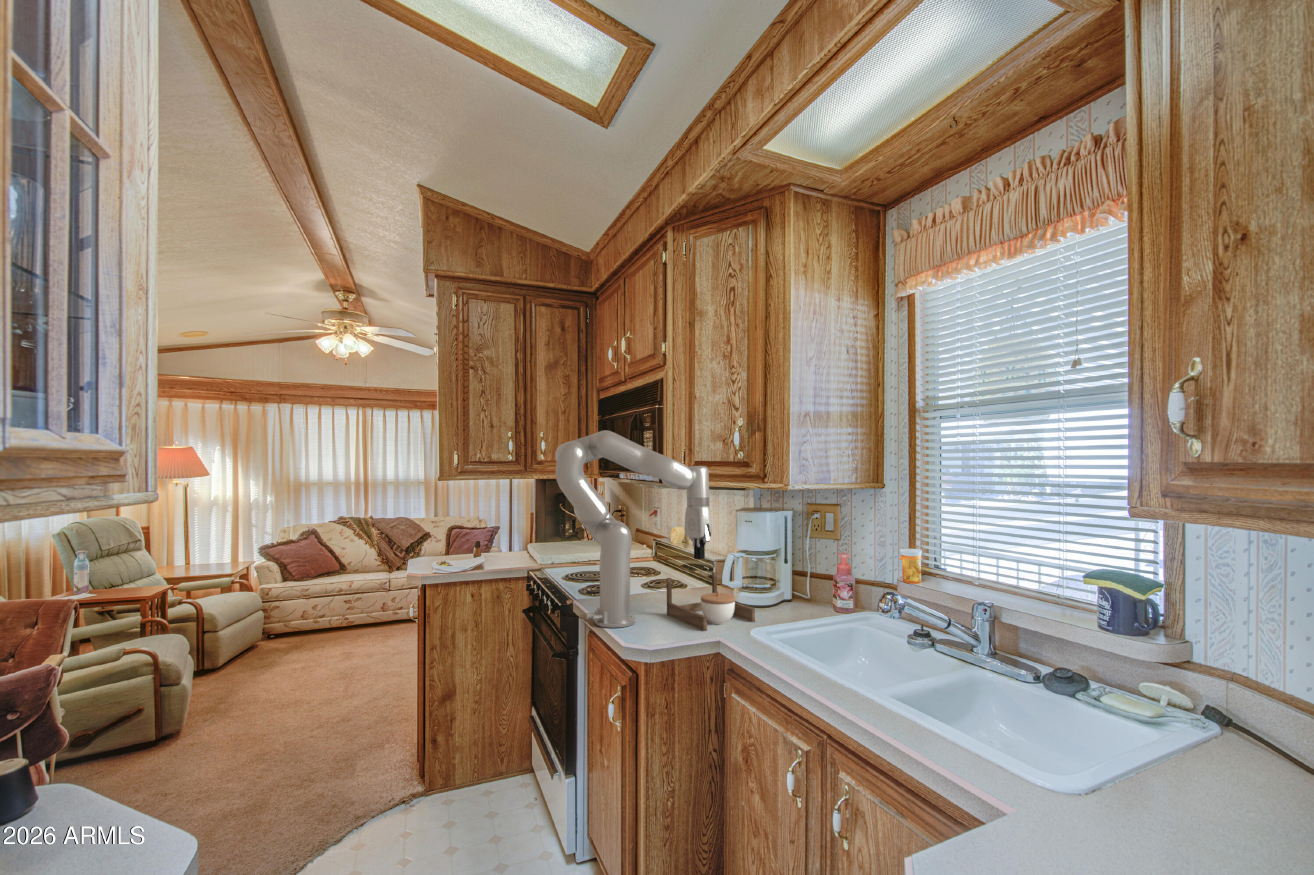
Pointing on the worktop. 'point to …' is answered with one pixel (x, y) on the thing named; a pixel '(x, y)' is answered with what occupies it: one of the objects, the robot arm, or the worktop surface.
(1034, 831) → the worktop surface
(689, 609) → the wooden dowel stand
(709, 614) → the lidded jar
